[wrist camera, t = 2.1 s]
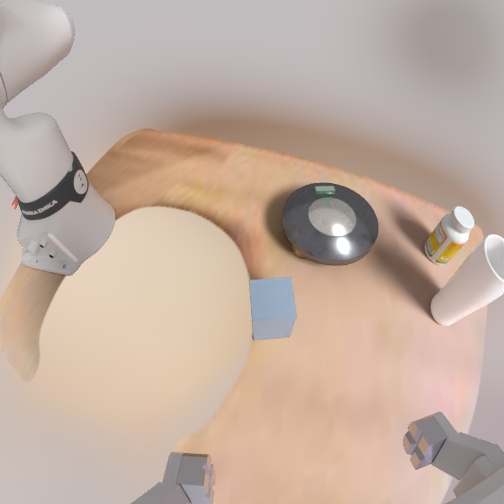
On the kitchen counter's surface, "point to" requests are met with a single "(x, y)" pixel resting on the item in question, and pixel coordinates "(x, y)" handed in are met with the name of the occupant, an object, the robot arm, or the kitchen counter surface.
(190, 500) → the robot arm
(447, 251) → the supplement bottle
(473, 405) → the kitchen counter surface
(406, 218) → the kitchen counter surface
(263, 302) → the block
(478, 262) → the drinking glass
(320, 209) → the stand
